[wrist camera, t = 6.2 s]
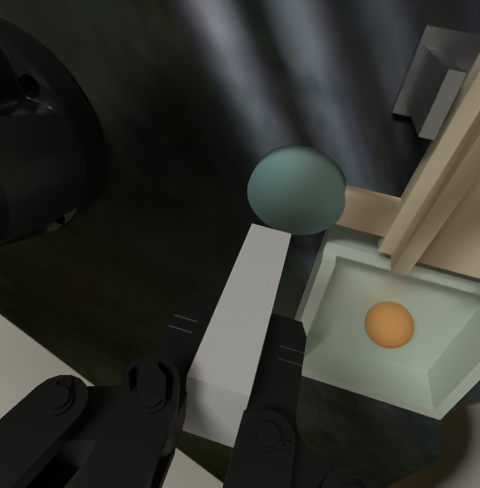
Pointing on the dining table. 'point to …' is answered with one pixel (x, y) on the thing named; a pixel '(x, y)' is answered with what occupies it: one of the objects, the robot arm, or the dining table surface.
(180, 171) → the dining table surface
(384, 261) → the tray
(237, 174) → the dining table surface
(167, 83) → the dining table surface
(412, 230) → the lever
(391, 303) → the ball
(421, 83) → the stand
